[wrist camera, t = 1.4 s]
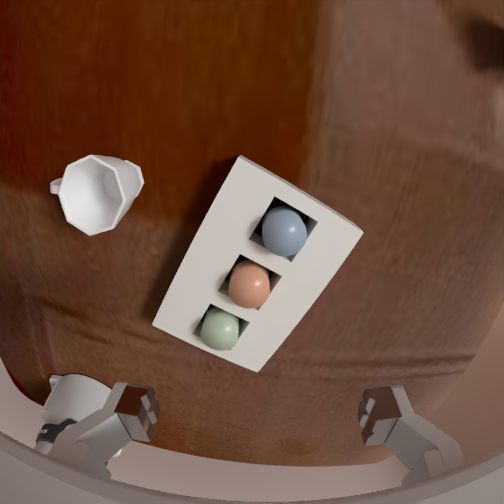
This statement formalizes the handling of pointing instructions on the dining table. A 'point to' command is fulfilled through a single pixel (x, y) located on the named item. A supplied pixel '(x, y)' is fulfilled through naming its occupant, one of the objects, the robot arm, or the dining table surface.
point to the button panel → (252, 246)
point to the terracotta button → (249, 284)
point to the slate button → (283, 231)
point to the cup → (97, 192)
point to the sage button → (220, 329)
